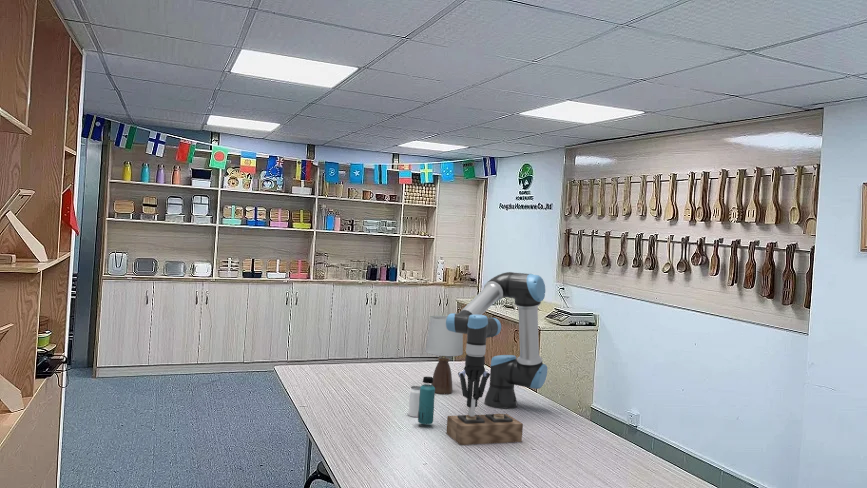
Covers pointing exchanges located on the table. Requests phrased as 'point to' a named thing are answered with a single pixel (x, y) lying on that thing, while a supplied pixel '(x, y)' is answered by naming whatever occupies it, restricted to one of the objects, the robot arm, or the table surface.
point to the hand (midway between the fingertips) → (471, 415)
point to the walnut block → (484, 429)
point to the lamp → (443, 352)
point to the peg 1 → (470, 417)
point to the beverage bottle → (426, 402)
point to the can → (414, 401)
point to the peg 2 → (498, 416)
